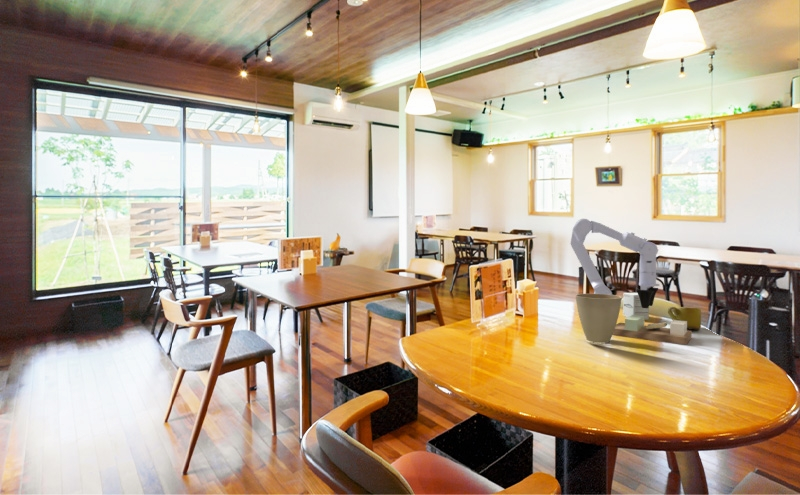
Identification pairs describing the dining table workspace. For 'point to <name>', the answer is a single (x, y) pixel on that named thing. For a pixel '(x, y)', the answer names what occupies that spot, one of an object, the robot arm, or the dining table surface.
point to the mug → (687, 316)
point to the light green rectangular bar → (634, 322)
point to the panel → (653, 334)
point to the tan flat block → (656, 325)
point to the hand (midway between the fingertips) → (647, 306)
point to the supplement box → (633, 306)
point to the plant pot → (598, 315)
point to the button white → (678, 327)
